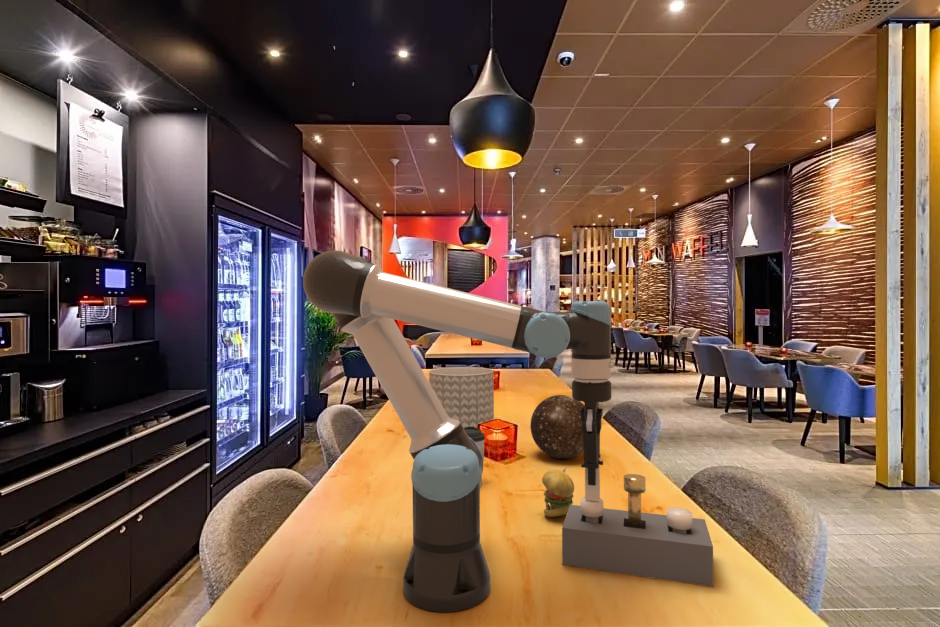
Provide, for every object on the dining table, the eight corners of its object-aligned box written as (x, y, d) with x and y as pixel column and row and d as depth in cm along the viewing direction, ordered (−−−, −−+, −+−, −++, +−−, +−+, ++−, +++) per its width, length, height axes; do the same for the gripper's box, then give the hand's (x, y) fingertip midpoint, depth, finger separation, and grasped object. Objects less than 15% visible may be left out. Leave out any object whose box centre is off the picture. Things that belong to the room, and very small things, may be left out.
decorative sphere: (606, 462, 162) (606, 398, 162) (550, 470, 155) (550, 403, 155) (571, 446, 181) (571, 388, 181) (519, 452, 174) (519, 392, 173)
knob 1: (602, 556, 100) (602, 505, 100) (579, 553, 101) (579, 503, 101) (604, 546, 104) (604, 497, 104) (581, 543, 105) (581, 495, 105)
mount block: (713, 586, 90) (712, 546, 90) (562, 564, 98) (562, 527, 98) (704, 555, 102) (704, 519, 102) (570, 537, 110) (570, 504, 110)
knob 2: (693, 570, 95) (693, 517, 95) (667, 567, 96) (667, 515, 96) (691, 559, 99) (691, 508, 99) (666, 556, 100) (666, 506, 100)
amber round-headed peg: (645, 533, 98) (645, 481, 97) (623, 530, 99) (623, 479, 99) (645, 524, 101) (645, 475, 101) (624, 522, 103) (623, 473, 102)
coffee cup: (482, 489, 139) (481, 433, 139) (449, 487, 141) (448, 432, 140) (487, 478, 148) (487, 426, 147) (456, 476, 150) (456, 424, 149)
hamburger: (553, 508, 126) (552, 458, 126) (580, 515, 121) (580, 464, 121) (536, 518, 120) (535, 466, 120) (564, 526, 115) (563, 472, 115)
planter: (419, 437, 195) (419, 373, 194) (442, 423, 219) (442, 366, 218) (484, 442, 187) (483, 375, 187) (500, 426, 211) (500, 367, 211)
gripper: (609, 385, 95) (610, 514, 95) (612, 375, 107) (613, 490, 107) (567, 383, 97) (569, 509, 97) (575, 374, 109) (577, 486, 110)
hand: (592, 499), depth 102 cm, fingers closed
